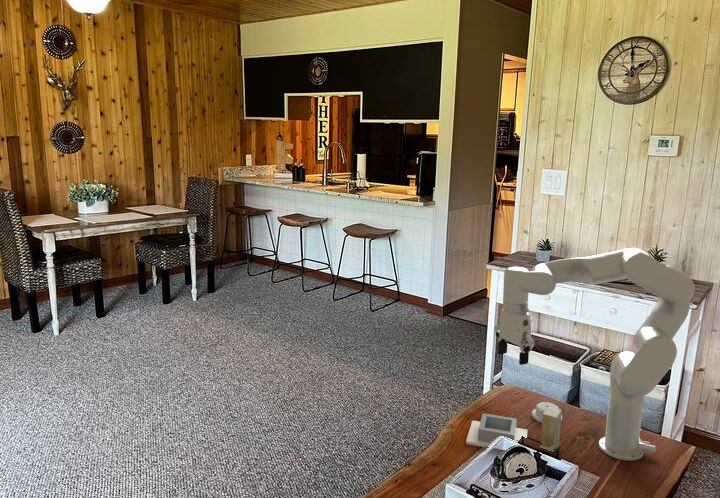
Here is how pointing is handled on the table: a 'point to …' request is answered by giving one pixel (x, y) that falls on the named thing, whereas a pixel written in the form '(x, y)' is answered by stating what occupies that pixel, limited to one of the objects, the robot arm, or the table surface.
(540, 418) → the mechanical component
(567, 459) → the table surface
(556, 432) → the skincare box
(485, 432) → the square socket base
